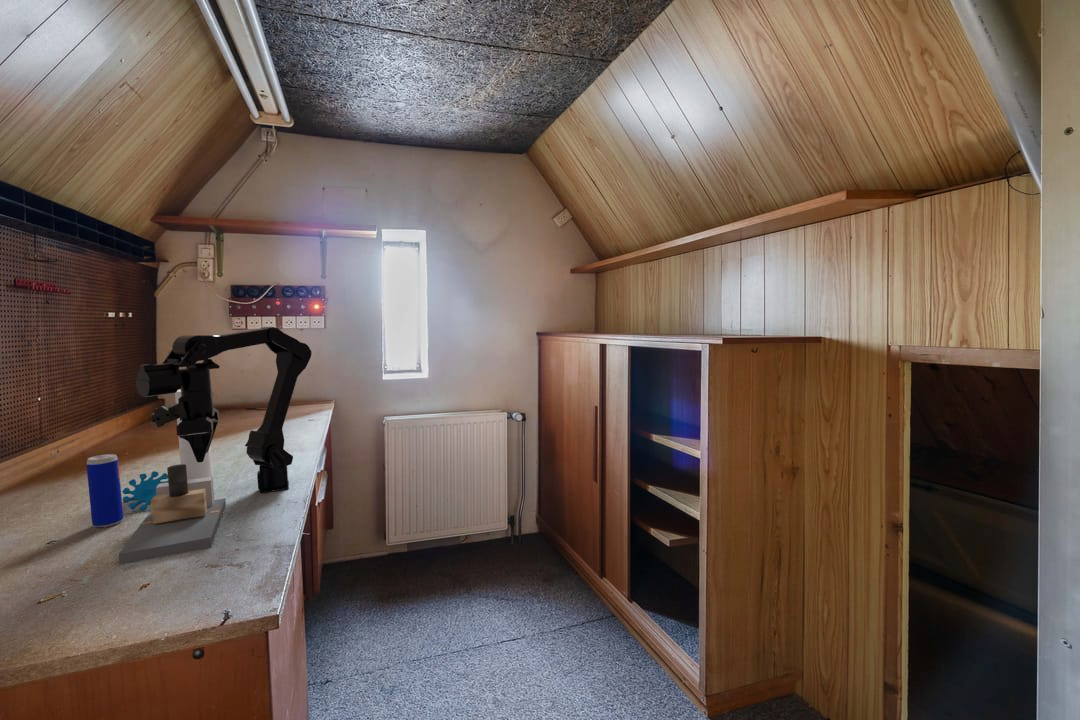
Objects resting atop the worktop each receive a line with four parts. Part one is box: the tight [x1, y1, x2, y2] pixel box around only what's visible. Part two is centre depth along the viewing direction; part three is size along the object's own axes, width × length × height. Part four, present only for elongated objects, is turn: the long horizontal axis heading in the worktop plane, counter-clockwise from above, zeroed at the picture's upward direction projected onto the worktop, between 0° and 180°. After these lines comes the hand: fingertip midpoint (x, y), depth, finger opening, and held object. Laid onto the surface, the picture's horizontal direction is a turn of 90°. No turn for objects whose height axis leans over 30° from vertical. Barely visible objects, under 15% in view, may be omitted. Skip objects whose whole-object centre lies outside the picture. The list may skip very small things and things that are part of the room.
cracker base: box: [117, 476, 227, 565], centre depth 103 cm, size 14×24×8 cm, turn 27°
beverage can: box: [85, 453, 124, 528], centre depth 107 cm, size 5×5×15 cm
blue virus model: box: [121, 470, 168, 511], centre depth 119 cm, size 11×6×10 cm
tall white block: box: [174, 389, 213, 480], centre depth 139 cm, size 7×7×25 cm
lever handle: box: [150, 463, 207, 524], centre depth 104 cm, size 9×3×11 cm, turn 117°
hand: (202, 457), depth 113 cm, fingers open, 9 cm apart
